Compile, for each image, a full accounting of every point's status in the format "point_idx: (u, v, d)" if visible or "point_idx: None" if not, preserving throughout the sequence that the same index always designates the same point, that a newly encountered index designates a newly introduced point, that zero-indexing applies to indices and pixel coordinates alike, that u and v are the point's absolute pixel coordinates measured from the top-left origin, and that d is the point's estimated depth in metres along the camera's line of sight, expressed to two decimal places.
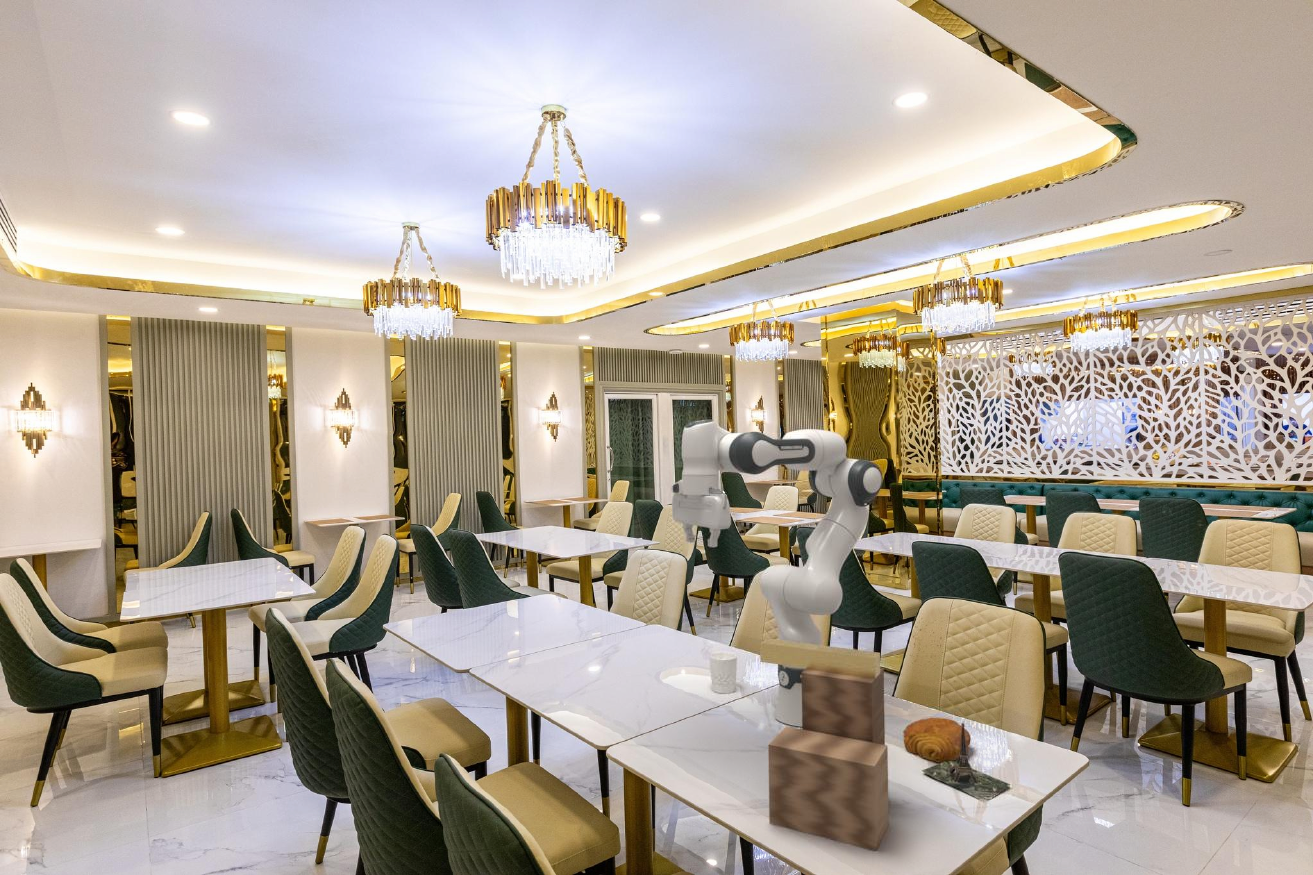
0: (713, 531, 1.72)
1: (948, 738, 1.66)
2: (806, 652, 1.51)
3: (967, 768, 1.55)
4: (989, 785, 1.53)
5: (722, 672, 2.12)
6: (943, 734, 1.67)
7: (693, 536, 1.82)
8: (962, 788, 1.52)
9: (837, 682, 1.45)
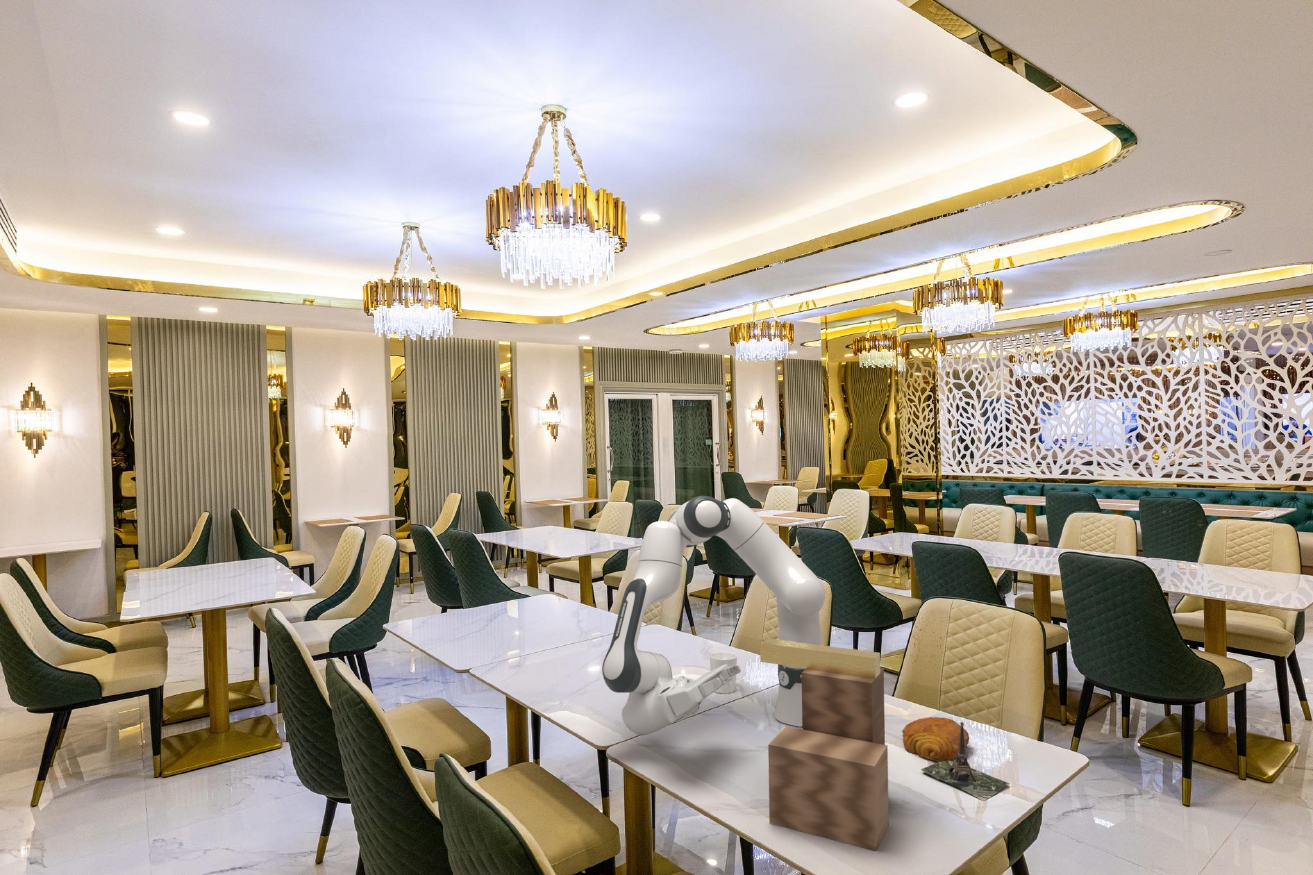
0: None
1: (947, 738, 1.67)
2: (806, 652, 1.51)
3: (966, 766, 1.56)
4: (987, 784, 1.54)
5: None
6: (942, 733, 1.68)
7: None
8: (961, 787, 1.53)
9: (837, 682, 1.45)
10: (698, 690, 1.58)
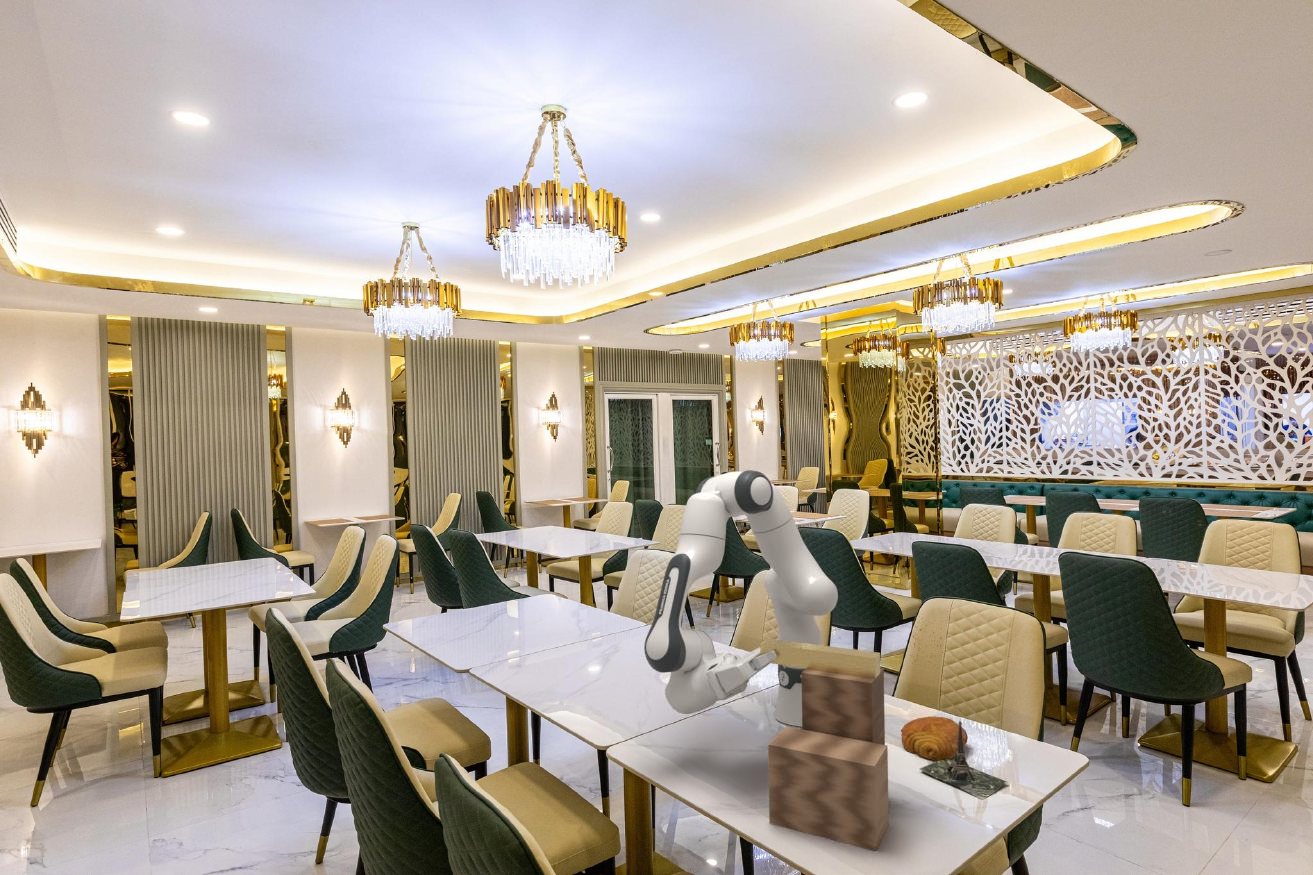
0: None
1: (946, 737, 1.67)
2: (806, 652, 1.51)
3: (964, 765, 1.56)
4: (986, 783, 1.54)
5: None
6: (941, 732, 1.68)
7: None
8: (960, 786, 1.53)
9: (837, 682, 1.45)
10: (749, 666, 1.52)
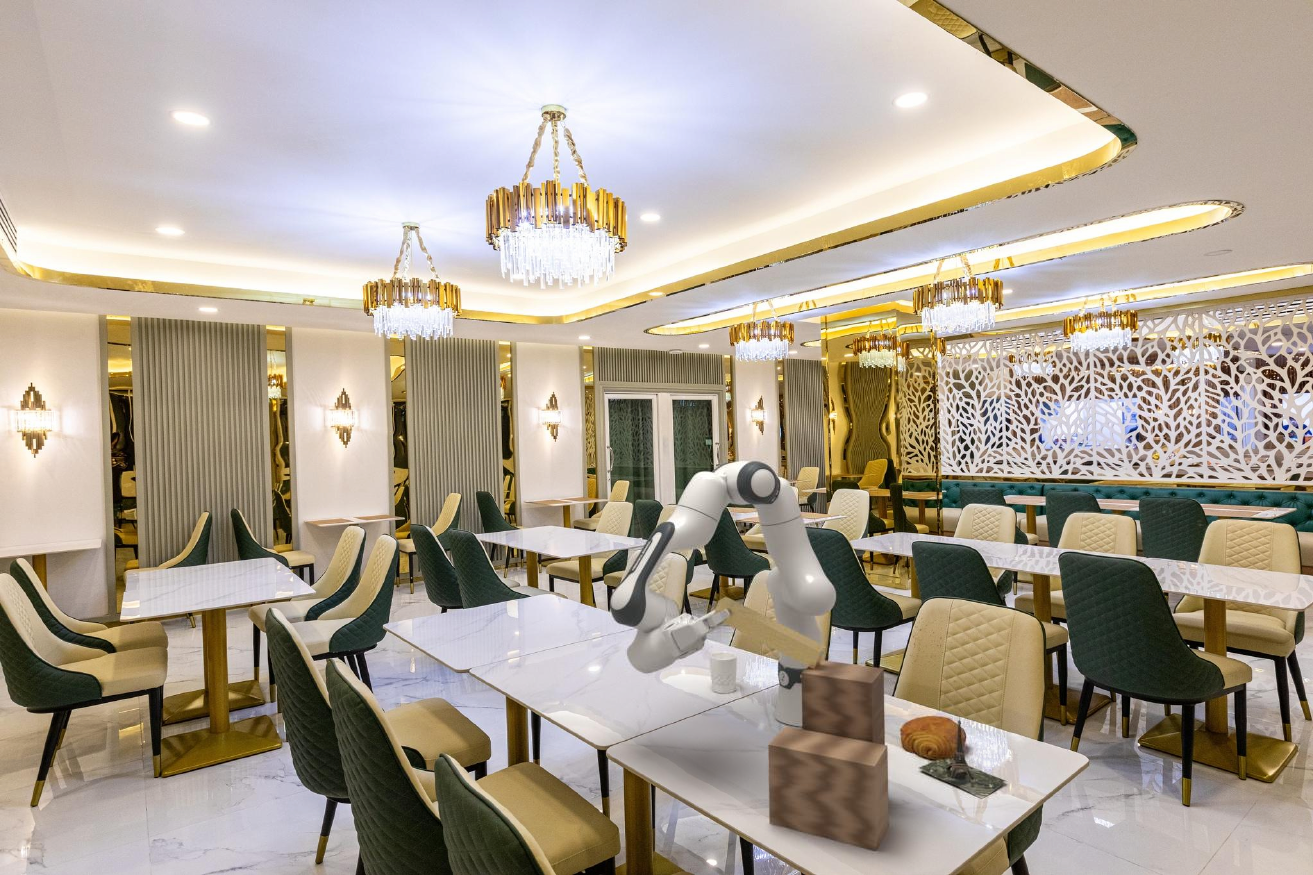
0: None
1: (945, 736, 1.67)
2: (759, 624, 1.56)
3: (964, 764, 1.57)
4: (985, 782, 1.55)
5: (722, 672, 2.12)
6: (940, 732, 1.69)
7: None
8: (959, 785, 1.54)
9: (837, 682, 1.45)
10: (702, 624, 1.57)
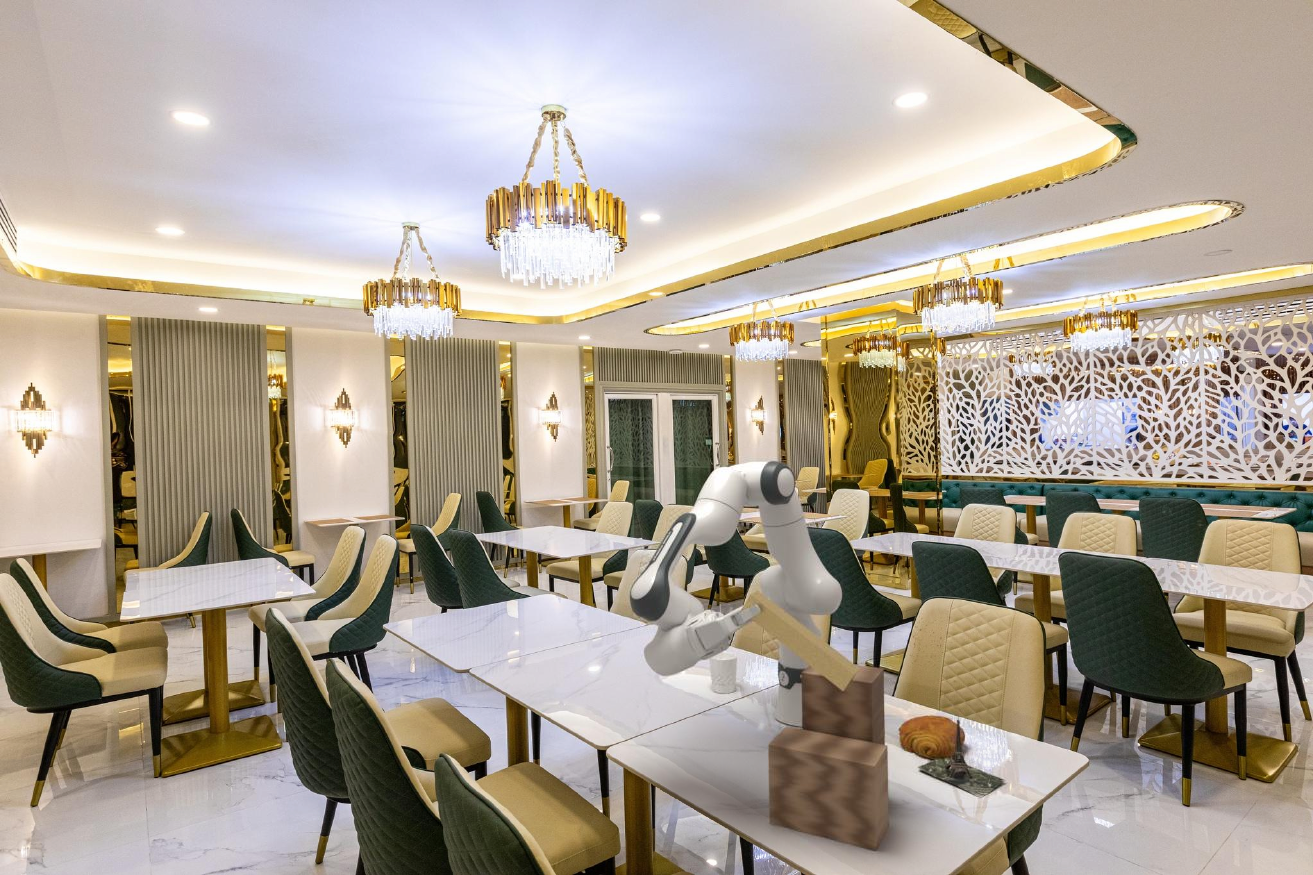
0: None
1: (944, 736, 1.68)
2: (791, 629, 1.42)
3: (962, 764, 1.57)
4: (984, 781, 1.55)
5: (722, 672, 2.12)
6: (939, 731, 1.69)
7: None
8: (958, 784, 1.54)
9: None
10: (730, 620, 1.42)
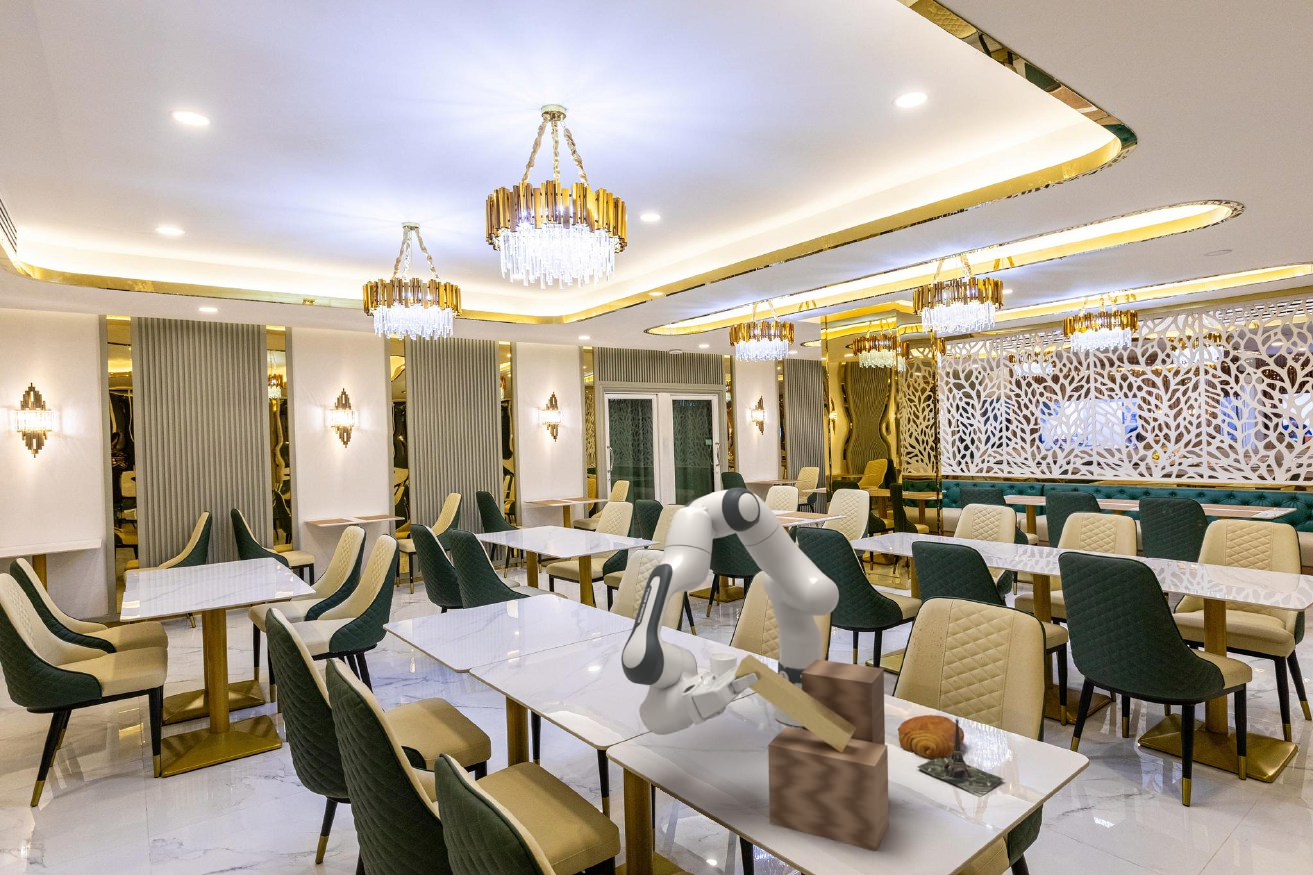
0: None
1: (943, 735, 1.68)
2: (785, 693, 1.41)
3: (961, 763, 1.57)
4: (983, 780, 1.56)
5: (722, 672, 2.12)
6: (938, 731, 1.69)
7: None
8: (957, 783, 1.55)
9: (837, 682, 1.45)
10: (727, 690, 1.42)
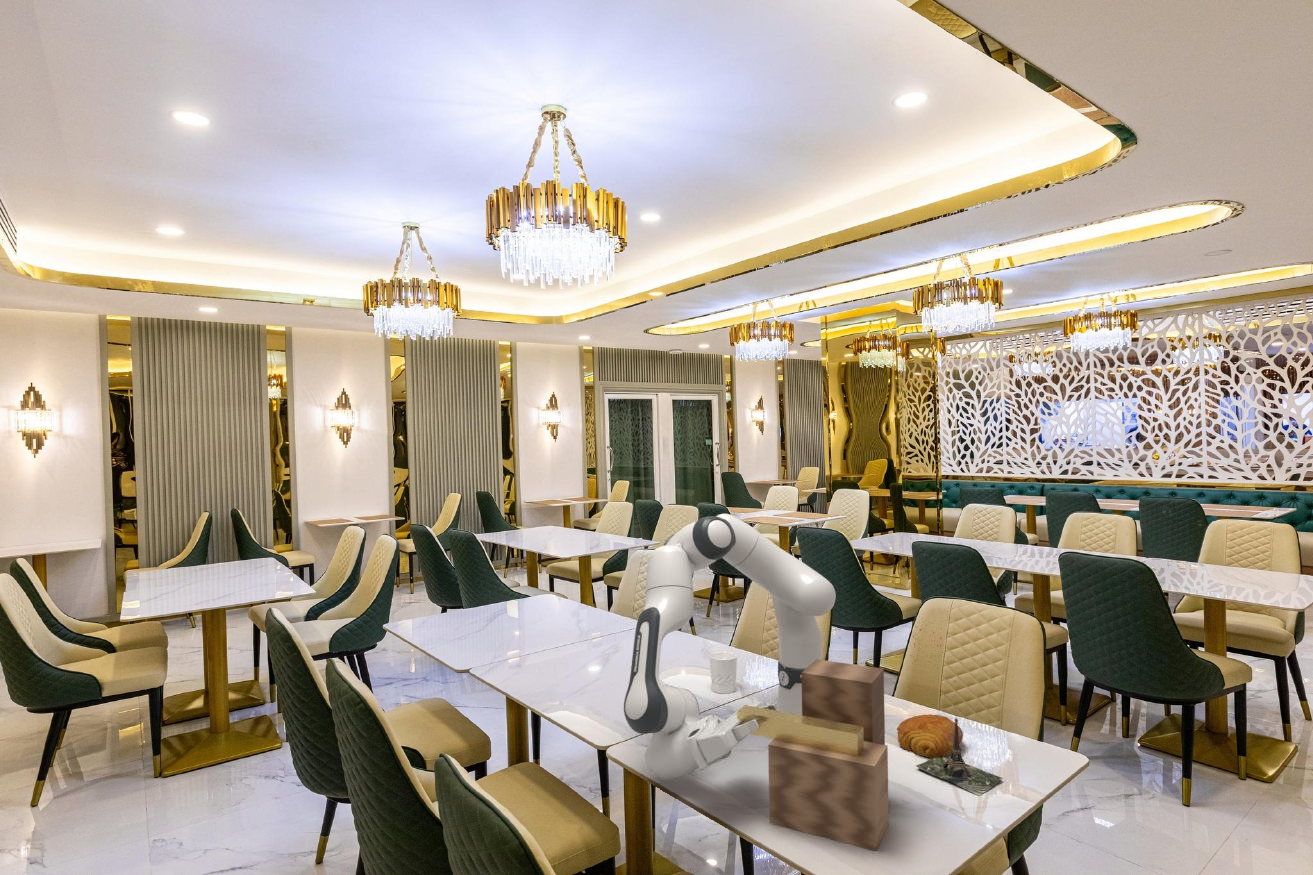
0: None
1: (942, 735, 1.68)
2: (785, 723, 1.42)
3: (960, 762, 1.58)
4: (982, 779, 1.56)
5: (722, 672, 2.12)
6: (937, 730, 1.69)
7: None
8: (956, 782, 1.55)
9: (837, 682, 1.45)
10: (732, 734, 1.42)
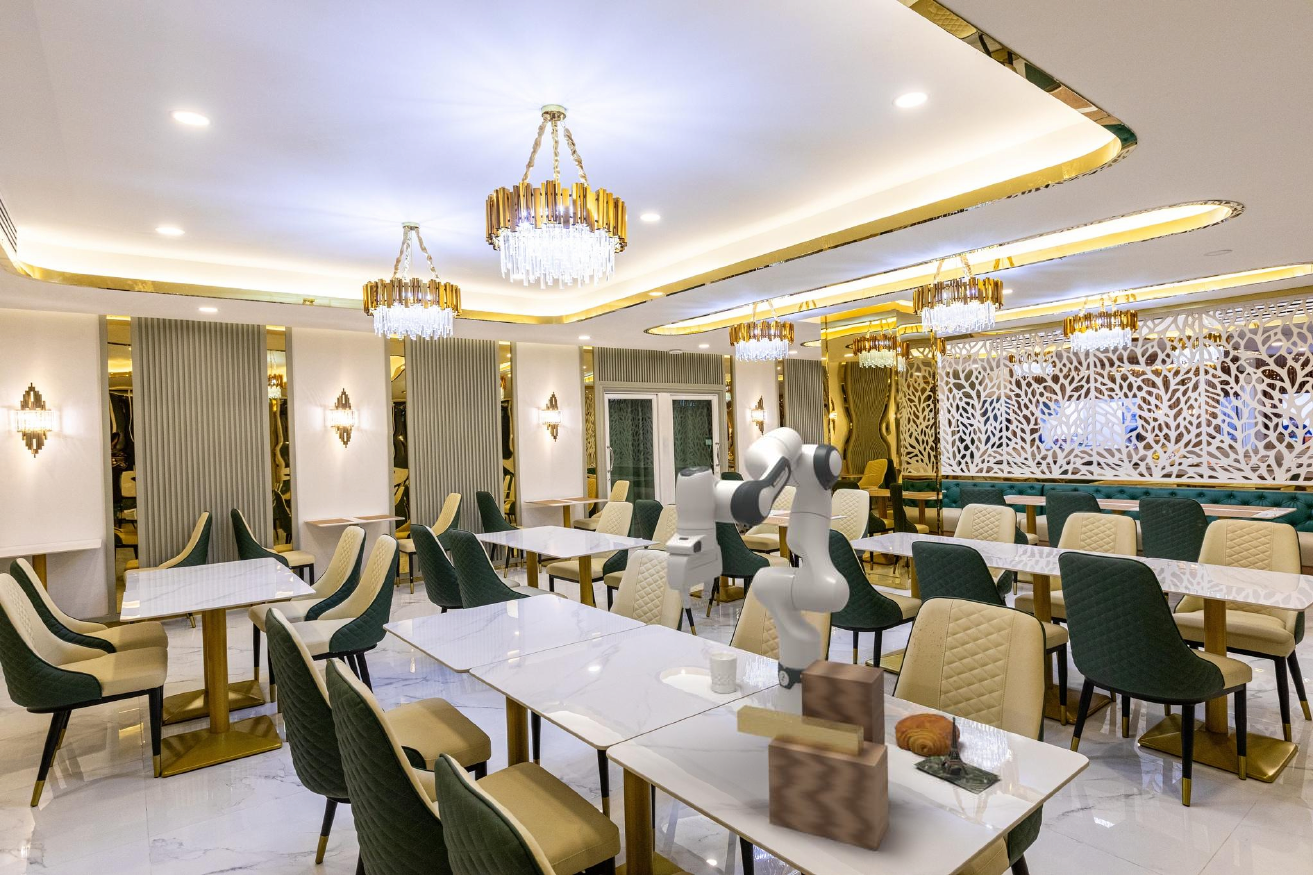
0: None
1: (940, 733, 1.69)
2: (785, 723, 1.42)
3: (958, 760, 1.59)
4: (979, 777, 1.57)
5: (722, 672, 2.12)
6: (935, 729, 1.70)
7: None
8: (954, 780, 1.56)
9: (837, 682, 1.45)
10: None
